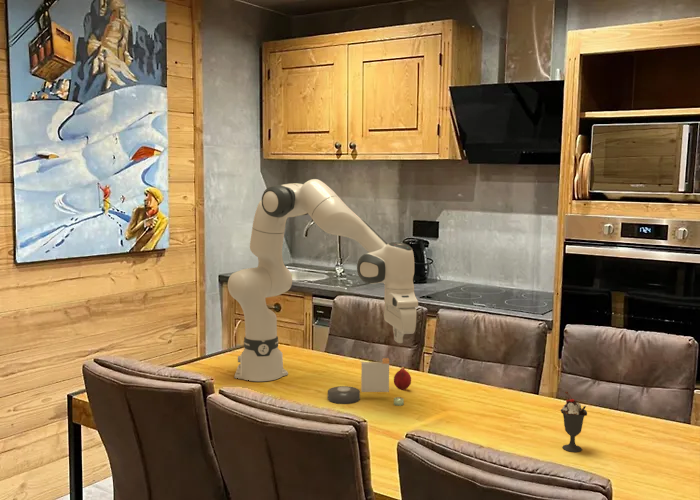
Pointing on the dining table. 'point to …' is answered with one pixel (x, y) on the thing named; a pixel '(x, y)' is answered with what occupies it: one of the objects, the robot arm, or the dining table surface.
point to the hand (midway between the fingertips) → (398, 342)
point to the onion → (402, 379)
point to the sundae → (573, 422)
